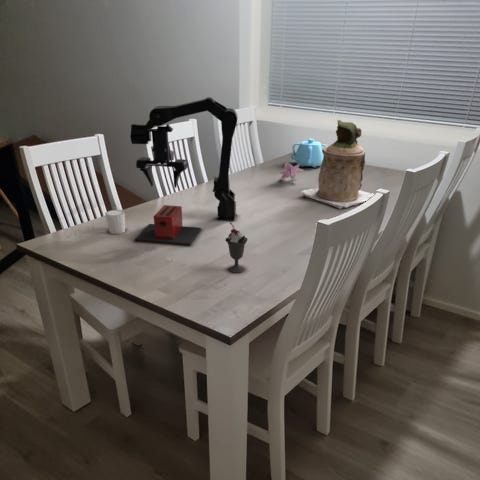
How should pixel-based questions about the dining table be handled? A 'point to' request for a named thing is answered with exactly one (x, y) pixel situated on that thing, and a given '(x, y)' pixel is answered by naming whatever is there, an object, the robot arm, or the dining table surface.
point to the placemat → (182, 238)
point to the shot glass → (116, 221)
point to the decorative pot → (308, 153)
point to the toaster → (168, 222)
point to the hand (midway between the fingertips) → (163, 186)
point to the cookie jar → (341, 170)
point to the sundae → (236, 248)
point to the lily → (290, 171)
